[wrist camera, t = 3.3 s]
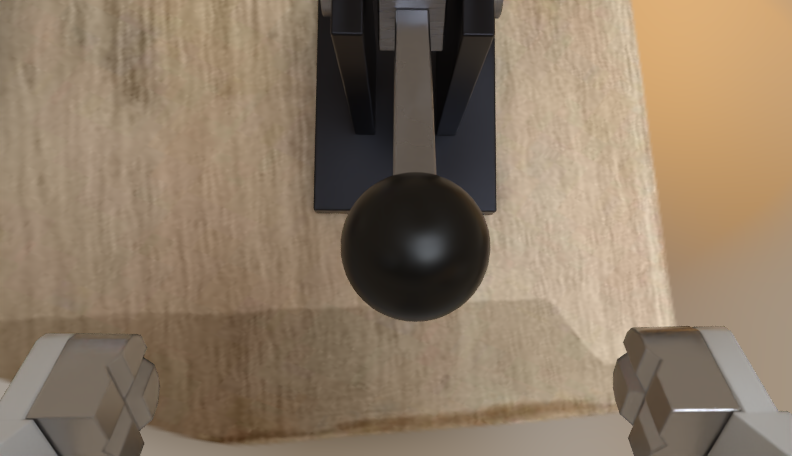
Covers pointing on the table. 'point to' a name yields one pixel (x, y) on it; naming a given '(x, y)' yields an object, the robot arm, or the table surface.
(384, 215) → the lever
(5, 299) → the table surface
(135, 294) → the table surface
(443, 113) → the switch bracket
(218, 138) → the table surface
